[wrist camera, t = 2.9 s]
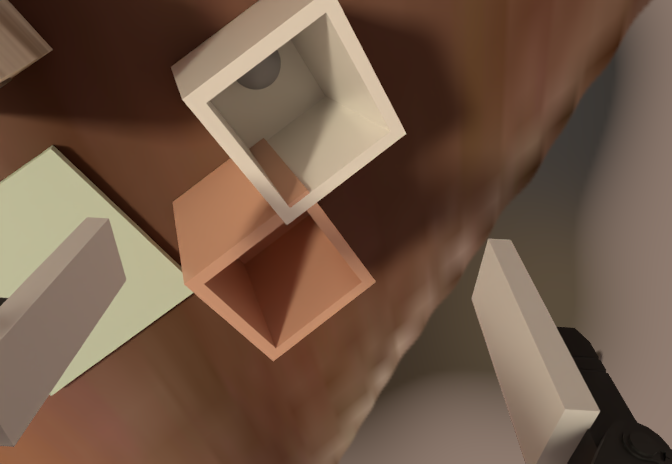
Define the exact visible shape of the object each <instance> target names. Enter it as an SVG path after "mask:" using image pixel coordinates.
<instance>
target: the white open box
mask: <svg viewBox="0 0 672 464" xmlns="http://www.w3.org/2000/svg"><path fill="white" fill-rule="evenodd" d="M276 50H278V52H279V55H280V59H281V68H280V72H279V75H278V77H277V79H276V80H275V81H274V82H273V83H272V84H271V85H270V86H268V87H266V88H264V89H259V90H254V89H249V88H246V87H244V86H242V85H241V84H239V83H238V82H237V81H236V80H237V79H239V78H240V77H241V76H243V75H244V74H245V73H247V72H248V71H249V70H251V69H252V68H253V67H255V66H256V65H257V64H259V63H260V62H261V61H263V60H264V59H265V58H266V57H268V56H269V55H270V54H272V53H273V52H274V51H276ZM171 70H172V72H173V75H174V78H175V81H176V84H177V86H178V89H179V92H180V95H181V98H182V100H183V101H184V102H185V104H186V105H187V106H188V107H189V108H190V110H191V111H192V112H193V113H194V114H195V116H196V117H197V118H198V119H199V120H200V122H201V123H202V124H203V125H204V126H205V128H206V129H207V130H208V131H209V132H210V134H211V135H212V136H213V137H214V138H215V140H216V141H217V142H218V143H219V144H220V146H221V147H222V148H223V149H224V150H225V152H226V153H227V154H228V155H229V156H230V158H231V159H232V160H233V161H234V162H235V164H236V165H237V166H238V167H239V168H240V170H241V171H242V172H243V173H244V174H245V176H246V177H247V178H248V179H249V180H250V182H251V183H252V184H253V185H254V186H255V188H256V189H257V190H258V191H259V192H260V194H261V195H262V196H263V197H264V198H265V200H266V201H267V202H268V203H269V204H270V206H271V207H272V208H273V209H274V210H275V212H276V213H277V214H278V215H279V216H280V218H281V219H282V220H283V221H284V222H285V224H286V225H288V224H289V223H291V222H292V221H293V220H295V219H296V218H297V217H298V216H300V215H301V214H302V213H304V212H305V211H306V210H308V209H309V208H310V207H311V206H313V205H314V204H315V203H317V202H318V201H319V200H321V199H322V198H323V197H324V196H326V195H327V194H328V193H330V192H331V191H332V190H334V189H335V188H336V187H338V186H339V185H340V184H341V183H343V182H344V181H345V180H347V179H348V178H349V177H351V176H352V175H353V174H354V173H356V172H357V171H358V170H360V169H361V168H362V167H364V166H365V165H366V164H368V163H369V162H370V161H371V160H373V159H374V158H375V157H377V156H378V155H379V154H381V153H382V152H383V151H384V150H386V149H387V148H388V147H390V146H391V145H392V144H394V143H395V142H396V141H398V140H399V139H400V138H401V137H403V136H404V135H405V134H406V132H405V130H404V128H403V126H402V124H401V122H400V120H399V118H398V117H397V115H396V113H395V111H394V109H393V107H392V105H391V103H390V101H389V99H388V97H387V95H386V93H385V91H384V89H383V87H382V85H381V84H380V82H379V80H378V78H377V76H376V74H375V72H374V70H373V68H372V66H371V64H370V62H369V60H368V58H367V56H366V54H365V53H364V51H363V49H362V47H361V45H360V43H359V41H358V39H357V37H356V35H355V33H354V31H353V29H352V27H351V25H350V23H349V22H348V20H347V18H346V16H345V14H344V12H343V10H342V8H341V6H340V4H339V2H338V0H259V1H258V2H256V3H255V4H254V5H252V6H251V7H250V8H248V9H247V10H246V11H244V12H243V13H242V14H240V15H239V16H238V17H236V18H235V19H234V20H232V21H231V22H230V23H228V24H227V25H226V26H225V27H223V28H222V29H221V30H219V31H218V32H217V33H215V34H214V35H213V36H211V37H210V38H209V39H207V40H206V41H205V42H203V43H202V44H201V45H199V46H198V47H197V48H195V49H194V50H193V51H191V52H190V53H189V54H187V55H186V56H185V57H183V58H182V59H181V60H179V61H178V62H177V63H175V64H174V65H173V66H171ZM263 138H264V139H265V140H266V141H267V142H268V144H269V145H270V146H271V147H272V148H273V149H274V151H275V152H276V153H277V154H278V155H279V157H280V158H281V159H282V160H283V161H284V162H285V164H286V165H287V166H288V167H289V168H290V170H291V171H292V172H293V173H294V174H295V176H296V177H297V178H298V179H299V180H300V181H301V183H302V184H303V185H304V186H305V187H306V189H307V190H308V191H309V192H310V193H309V194H308V195H306V196H305V197H304V198H303V199H301V200H300V201H299V202H297V203H296V204H295V205H293V206H292V207H291V208H290V207H289V206H288V205H287V203H286V202H285V201H284V199H283V198H282V196H281V195H280V193H279V192H278V190H277V189H276V187H275V186H274V185H273V183H272V182H271V180H270V179H269V177H268V176H267V174H266V173H265V171H264V170H263V169H262V167H261V166H260V164H259V163H258V161H257V160H256V158H255V157H254V155H253V154H252V153H251V151H250V150H249V148H251V147H252V146H253V145H255V144H256V143H257V142H259V141H260V140H261V139H263Z"/></svg>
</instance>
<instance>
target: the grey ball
mask: <svg viewBox="0 0 672 464" xmlns="http://www.w3.org/2000/svg"><path fill="white" fill-rule="evenodd" d="M280 68H281V59H280V55H279V52H278V50H276V51H274V52H273V53H272V54H270V55H269V56H268V57H266V58H265V59H264V60H263V61H261V62H260V63H259V64H257V65H256V66H255V67H253V68H252V69H251V70H249V71H248V72H247V73H245V74H244V75H243V76H241V77H240V78H239V79H237V80H236V81H237V82H238V83H239V84H241V85H242V86H244V87H246V88H249V89H254V90H259V89H264V88H266V87H268V86H270V85H271V84H272V83H273V82H274V81H275V80H276V79H277V77H278V75H279V72H280Z"/></svg>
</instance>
